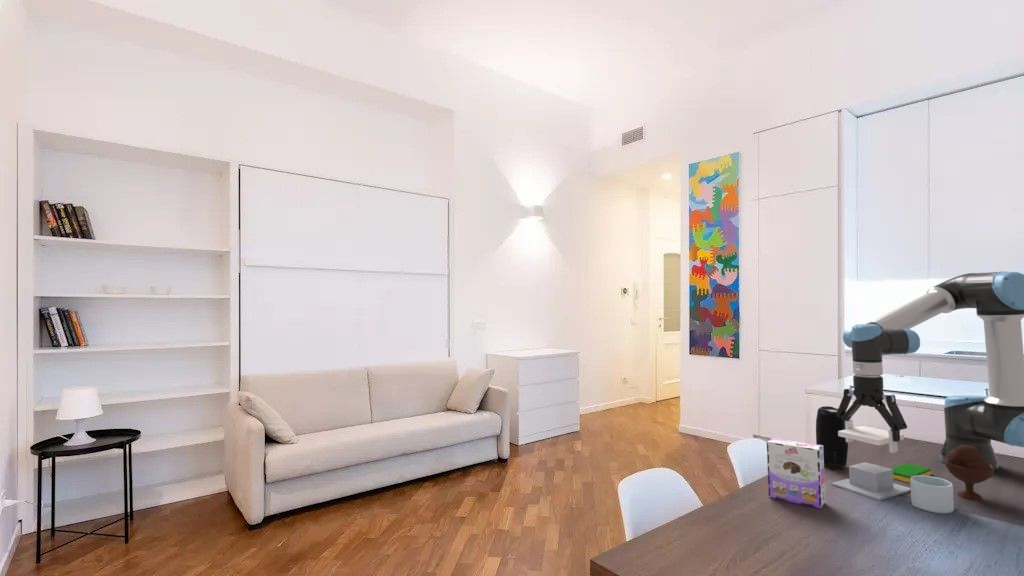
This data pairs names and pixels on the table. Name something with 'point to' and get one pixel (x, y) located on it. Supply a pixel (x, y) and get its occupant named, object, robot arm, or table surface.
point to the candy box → (796, 472)
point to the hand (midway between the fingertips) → (870, 446)
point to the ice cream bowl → (968, 469)
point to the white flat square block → (867, 435)
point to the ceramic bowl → (932, 494)
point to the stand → (872, 481)
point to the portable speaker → (831, 437)
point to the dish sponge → (909, 471)
